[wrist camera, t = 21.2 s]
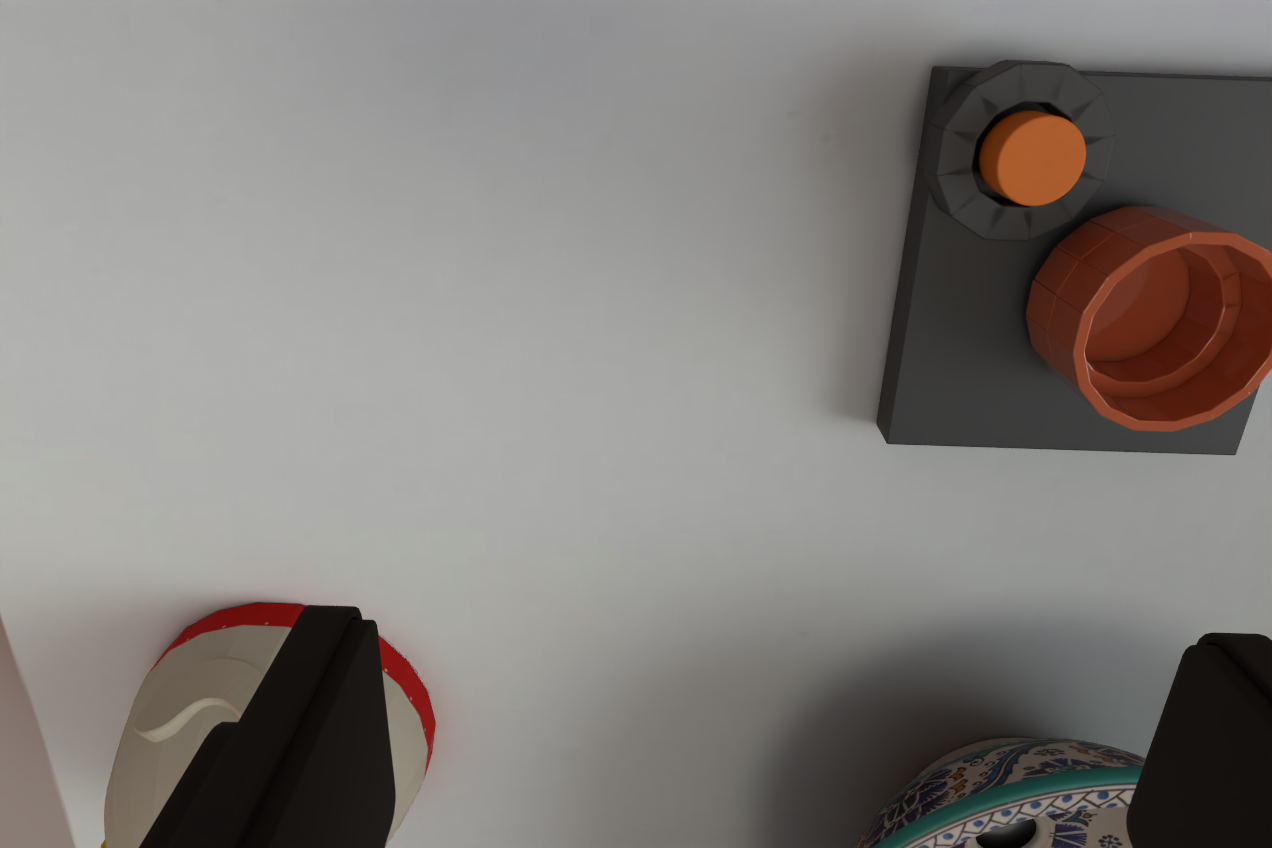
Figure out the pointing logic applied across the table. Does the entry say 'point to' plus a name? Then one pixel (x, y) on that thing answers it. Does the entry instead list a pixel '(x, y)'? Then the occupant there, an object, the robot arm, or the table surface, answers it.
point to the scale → (1054, 244)
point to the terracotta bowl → (1154, 317)
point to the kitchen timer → (236, 713)
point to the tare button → (1032, 157)
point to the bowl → (1014, 796)
